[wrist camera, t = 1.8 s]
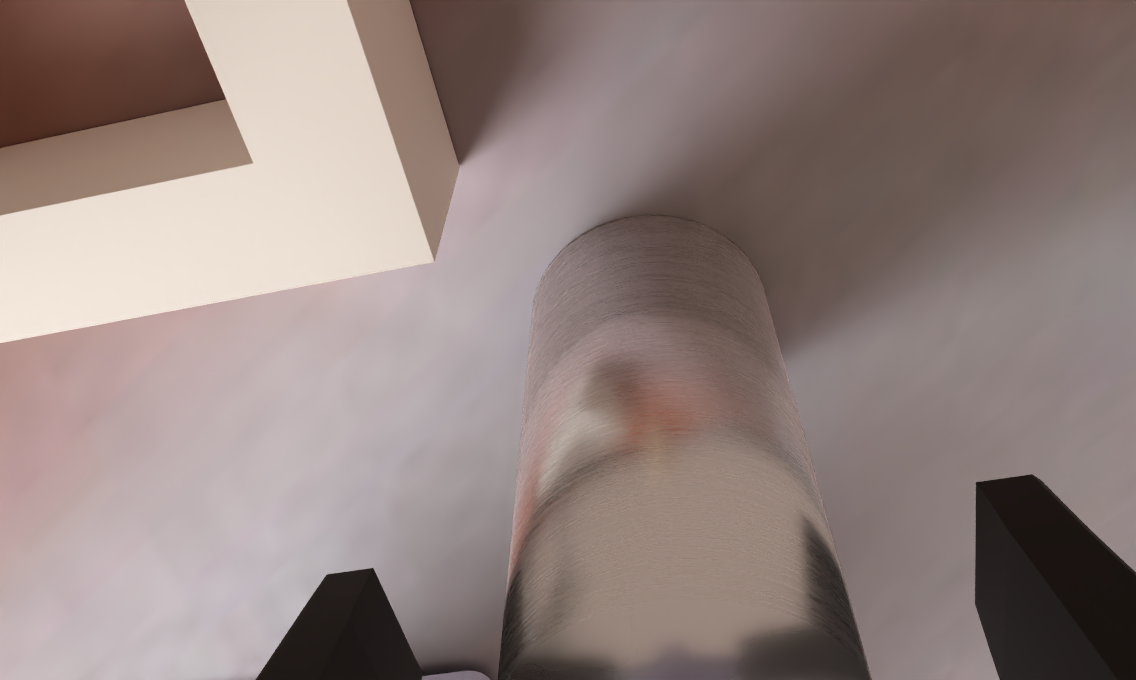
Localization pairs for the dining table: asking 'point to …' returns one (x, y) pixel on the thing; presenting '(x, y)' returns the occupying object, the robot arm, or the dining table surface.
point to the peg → (666, 477)
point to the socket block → (237, 174)
